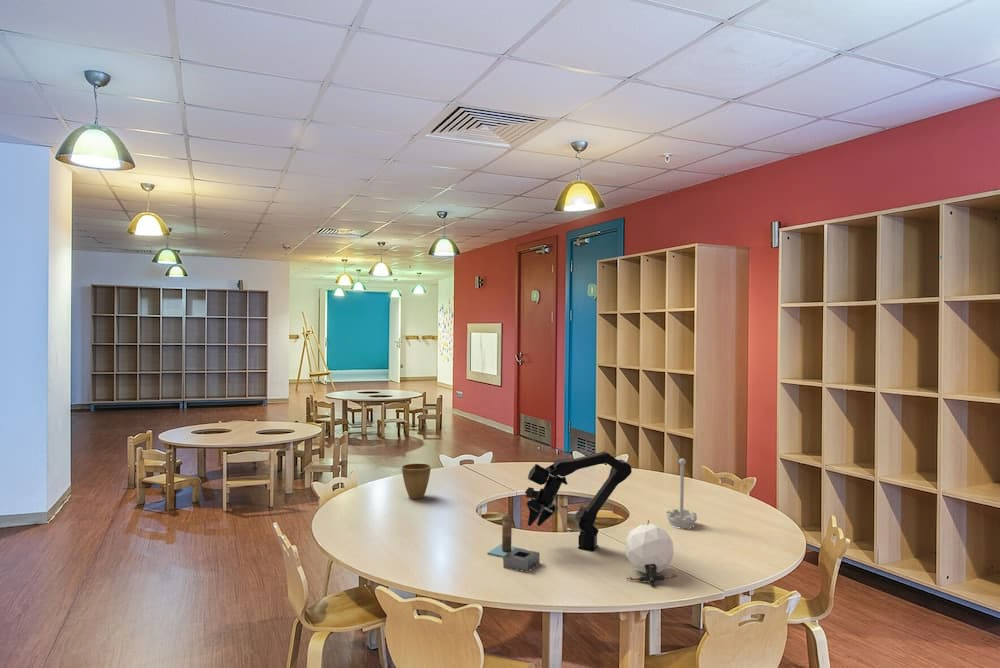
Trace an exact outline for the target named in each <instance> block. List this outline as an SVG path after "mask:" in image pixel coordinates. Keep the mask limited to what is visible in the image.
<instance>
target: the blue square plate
mask: <svg viewBox="0 0 1000 668" xmlns="http://www.w3.org/2000/svg"><path fill="white" fill-rule="evenodd" d="M515 548H519V549H524V550H526V548H521V547H517V546H512V545H511V551H512V550H513V549H515ZM486 553H487V555H489V556H495V557H500V558H503V556H505V555H506V554H508V553H509V552H503V551H502V543H500V544H498V545H497V546H496V547H495V548H493V549H491V550H490V551H489V550H488V552H486Z"/></svg>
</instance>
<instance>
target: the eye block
mask: <svg viewBox="0 0 1000 668" xmlns="http://www.w3.org/2000/svg"><path fill="white" fill-rule="evenodd" d="M519 548H520V547H518V548H515V549H513V550H512V551H510V552H509V553H508V554H506V555H505V556H503V557H502V558H503V564H502V565H503V568H506V567H507V569H510V568H512V570H515V569H518V570H517V571H520V570H523V571H522V572H524V571H529V570H530V569H531V570H532V568H533V567H534V566H535V567H536V565H537V564H538V565H539V564H540V555H541V554H540V552H539V551H533V550H527V549H525V548H523V549H519ZM524 549H525V550H524ZM538 565H537V566H538ZM535 567H534V568H535ZM534 568H533V569H534ZM531 570H530V571H531ZM530 571H529V572H530Z"/></svg>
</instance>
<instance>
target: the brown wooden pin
mask: <svg viewBox="0 0 1000 668" xmlns="http://www.w3.org/2000/svg"><path fill="white" fill-rule="evenodd" d="M501 520H502V523H501V525H502V526H501V527H502V529H501V531H502V535H501V538H502V541H501V544H502V551H503V552H510V551H511V546H512V533H513V532H512V528H513V527H512V521H513V517H512V515H511V514H509V513H505V514H503V515H502V519H501Z"/></svg>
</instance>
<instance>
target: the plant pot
mask: <svg viewBox="0 0 1000 668" xmlns="http://www.w3.org/2000/svg"><path fill="white" fill-rule="evenodd" d="M431 469H432V466H431V464H427V463H409V464H408V463H407V464H404V465H402V466H401V473H402V477H403V482H404V487H405V490H406V493H407V495H408V498H409V499H412V500H420V499H423V498H425V494H426V491H427V488H428V484H429V481H430V476H431V475H430V474H431Z"/></svg>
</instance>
